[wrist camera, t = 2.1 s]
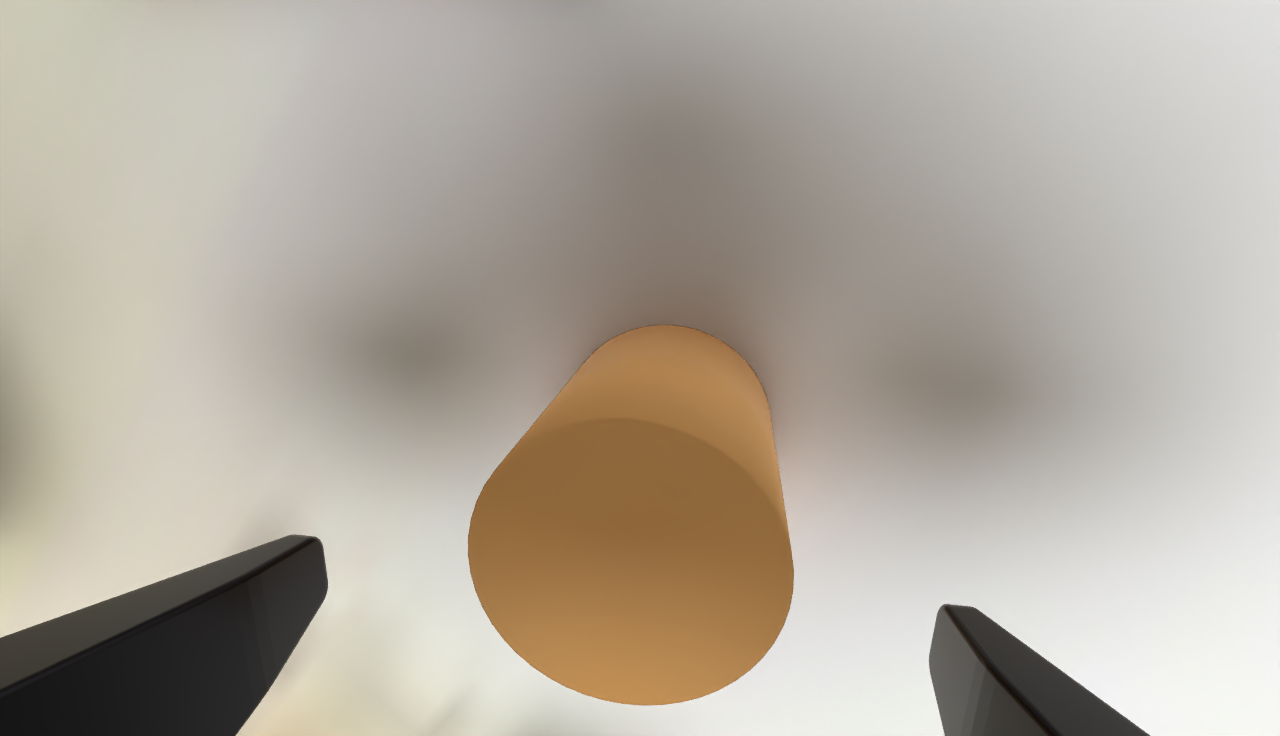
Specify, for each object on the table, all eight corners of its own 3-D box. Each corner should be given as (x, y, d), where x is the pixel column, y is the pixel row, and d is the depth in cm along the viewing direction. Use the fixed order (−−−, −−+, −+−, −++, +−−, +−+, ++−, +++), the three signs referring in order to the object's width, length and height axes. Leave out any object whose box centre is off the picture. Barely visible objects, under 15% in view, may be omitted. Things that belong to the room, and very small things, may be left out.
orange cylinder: (567, 507, 16) (477, 683, 10) (564, 319, 15) (458, 405, 9) (762, 526, 16) (778, 724, 10) (780, 330, 14) (810, 431, 8)
